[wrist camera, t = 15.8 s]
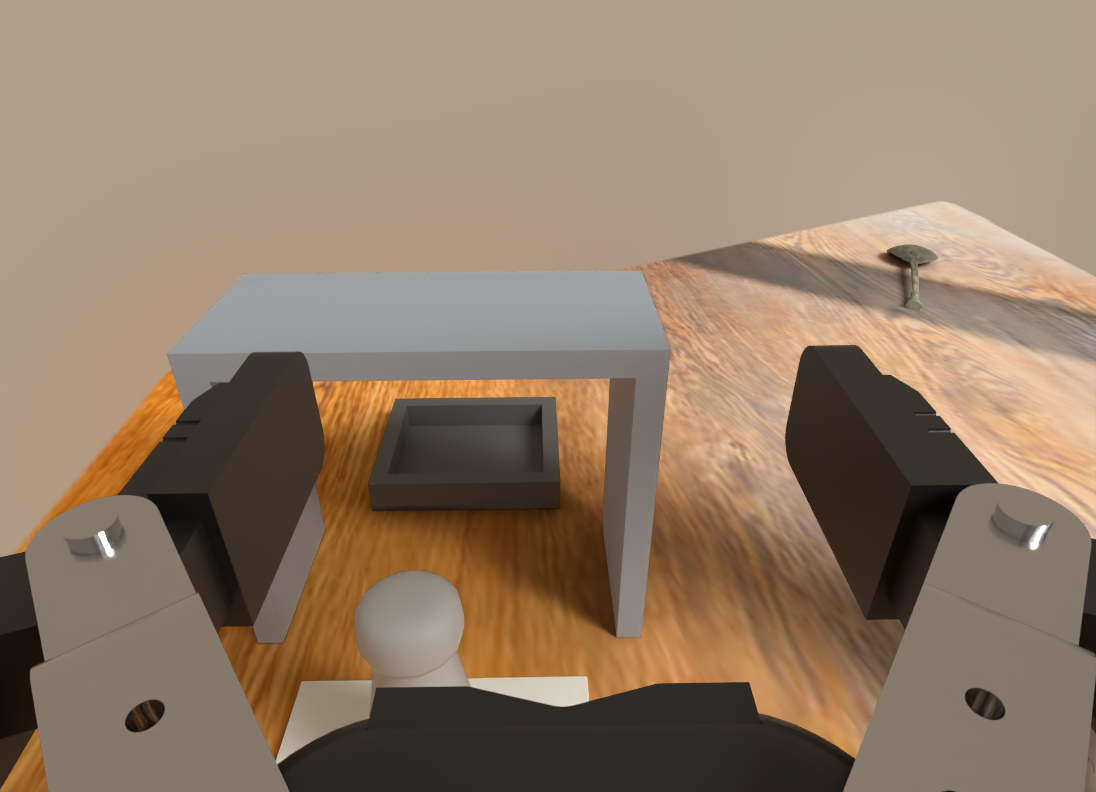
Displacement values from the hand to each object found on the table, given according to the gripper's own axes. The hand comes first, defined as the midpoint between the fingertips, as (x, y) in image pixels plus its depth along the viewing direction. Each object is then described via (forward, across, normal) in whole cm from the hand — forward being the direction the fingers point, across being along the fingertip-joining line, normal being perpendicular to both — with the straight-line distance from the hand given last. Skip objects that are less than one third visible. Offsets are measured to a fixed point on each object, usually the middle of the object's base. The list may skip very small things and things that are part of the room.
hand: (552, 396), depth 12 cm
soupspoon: (+76, -48, +31) cm, 95 cm away
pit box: (+36, +6, +29) cm, 47 cm away
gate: (+23, +6, +29) cm, 37 cm away
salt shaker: (+9, +6, +28) cm, 30 cm away
